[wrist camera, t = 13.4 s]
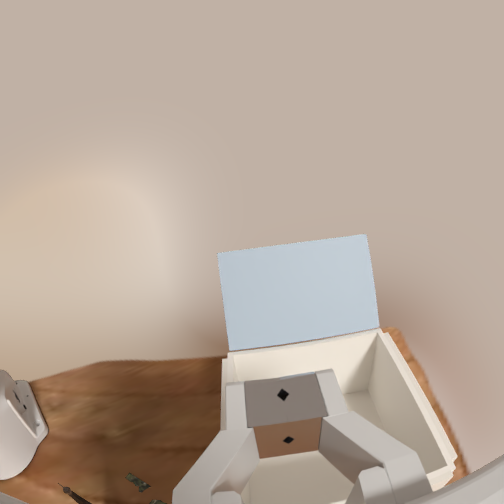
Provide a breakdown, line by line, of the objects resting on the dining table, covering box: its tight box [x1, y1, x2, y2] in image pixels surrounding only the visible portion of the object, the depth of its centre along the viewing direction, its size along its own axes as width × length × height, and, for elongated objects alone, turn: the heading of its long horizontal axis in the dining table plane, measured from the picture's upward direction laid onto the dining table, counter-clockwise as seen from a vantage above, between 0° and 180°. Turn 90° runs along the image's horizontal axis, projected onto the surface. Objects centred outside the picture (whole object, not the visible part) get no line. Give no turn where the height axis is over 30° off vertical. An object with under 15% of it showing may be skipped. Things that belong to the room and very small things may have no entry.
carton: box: [221, 329, 457, 504], centre depth 27 cm, size 21×19×11 cm
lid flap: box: [217, 234, 379, 351], centre depth 35 cm, size 11×17×1 cm
